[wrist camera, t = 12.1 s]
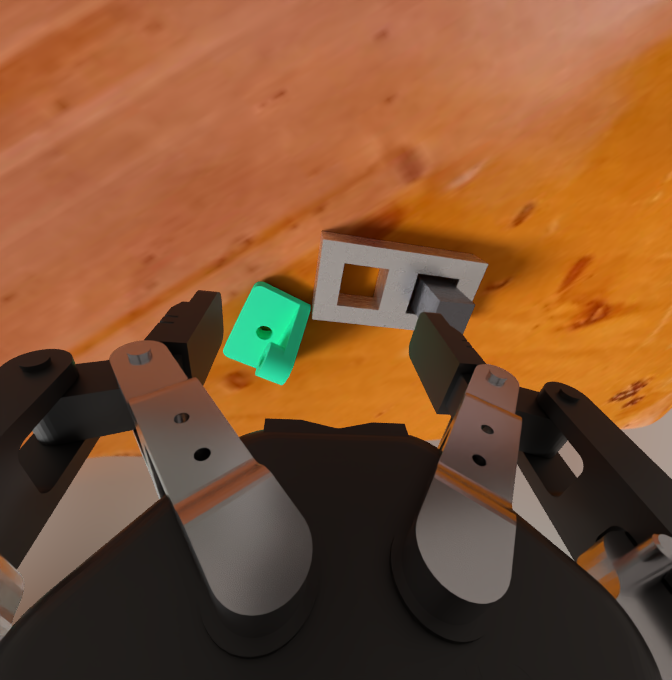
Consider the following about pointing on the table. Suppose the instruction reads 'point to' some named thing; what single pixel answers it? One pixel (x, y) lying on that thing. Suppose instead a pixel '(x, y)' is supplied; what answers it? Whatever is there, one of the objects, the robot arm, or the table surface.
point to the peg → (441, 300)
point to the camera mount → (268, 332)
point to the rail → (385, 278)
